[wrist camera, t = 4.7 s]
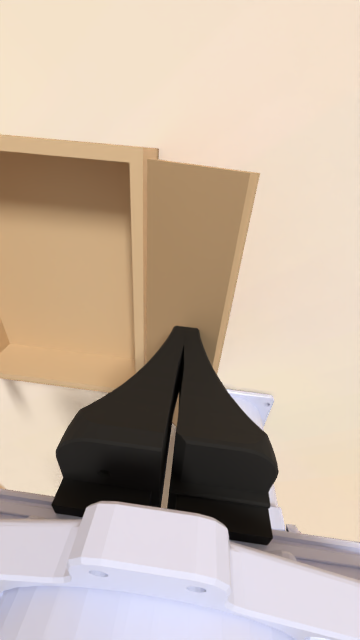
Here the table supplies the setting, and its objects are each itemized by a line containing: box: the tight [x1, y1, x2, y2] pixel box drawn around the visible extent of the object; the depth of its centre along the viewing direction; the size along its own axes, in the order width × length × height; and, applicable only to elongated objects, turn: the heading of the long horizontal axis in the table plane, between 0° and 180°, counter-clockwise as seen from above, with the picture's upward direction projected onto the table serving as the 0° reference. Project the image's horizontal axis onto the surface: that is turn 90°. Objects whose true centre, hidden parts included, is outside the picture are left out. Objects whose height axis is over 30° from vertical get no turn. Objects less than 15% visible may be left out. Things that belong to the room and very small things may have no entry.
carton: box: [0, 135, 159, 393], centre depth 17 cm, size 16×13×4 cm
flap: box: [147, 159, 260, 427], centre depth 14 cm, size 15×6×1 cm
